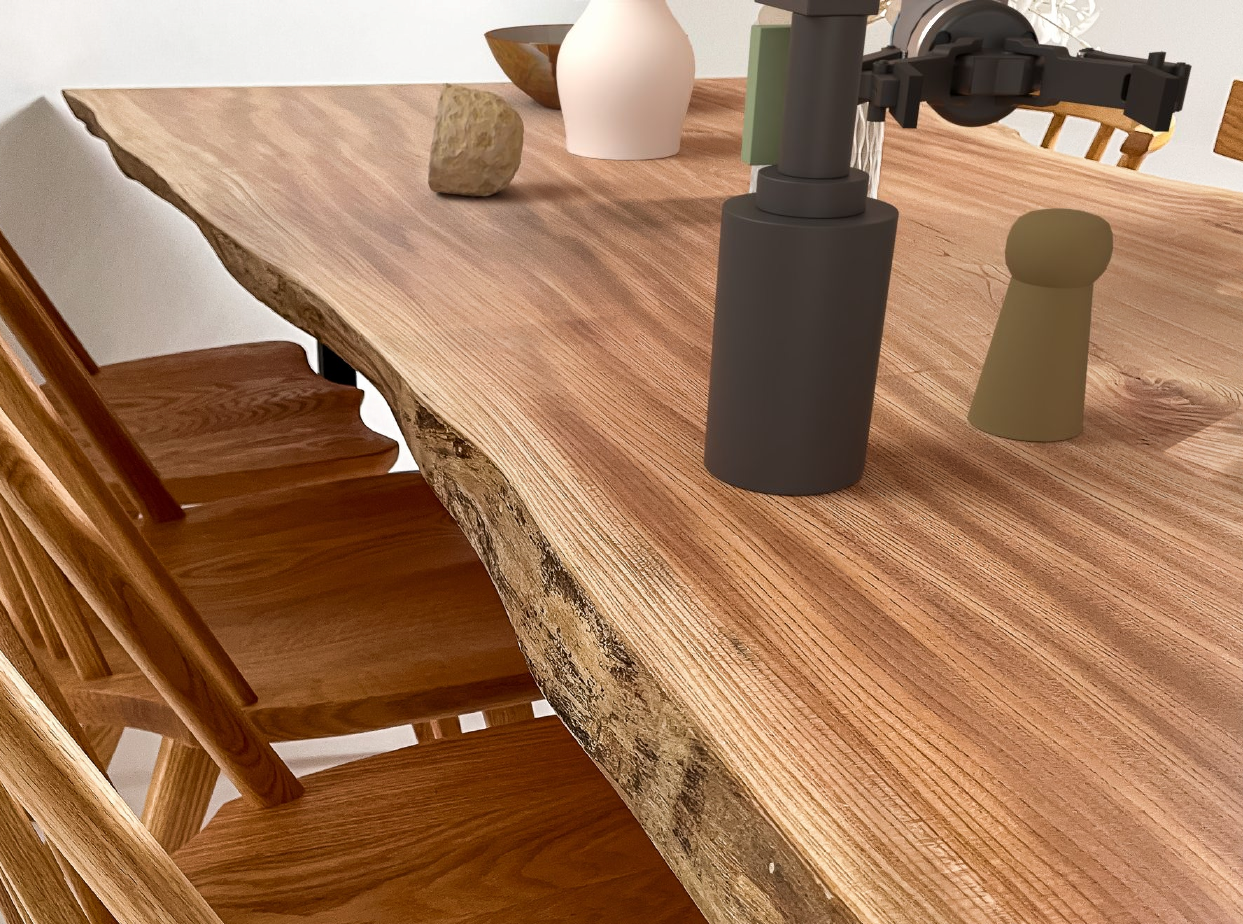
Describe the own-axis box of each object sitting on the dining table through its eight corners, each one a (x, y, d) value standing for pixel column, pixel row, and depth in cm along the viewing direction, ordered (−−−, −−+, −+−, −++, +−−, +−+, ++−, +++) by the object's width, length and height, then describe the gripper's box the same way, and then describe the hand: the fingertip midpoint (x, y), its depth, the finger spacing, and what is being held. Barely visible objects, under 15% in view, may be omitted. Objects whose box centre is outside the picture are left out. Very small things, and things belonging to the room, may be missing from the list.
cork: (1103, 422, 76) (1150, 212, 71) (1048, 449, 73) (1093, 230, 67) (1002, 396, 80) (1040, 194, 74) (945, 421, 76) (980, 211, 71)
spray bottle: (671, 426, 76) (703, -99, 63) (812, 417, 77) (871, -99, 64) (731, 500, 67) (781, -93, 54) (889, 489, 68) (975, -93, 55)
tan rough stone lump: (408, 103, 130) (505, 57, 127) (452, 210, 133) (548, 168, 130) (382, 109, 121) (485, 60, 118) (430, 224, 125) (532, 179, 122)
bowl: (451, 111, 171) (449, 39, 167) (530, 86, 191) (530, 20, 186) (646, 125, 163) (650, 49, 158) (708, 96, 182) (713, 28, 178)
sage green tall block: (740, 160, 69) (750, 24, 66) (794, 159, 69) (807, 24, 66) (749, 165, 68) (760, 27, 64) (804, 164, 68) (818, 26, 65)
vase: (537, 142, 152) (538, -69, 142) (658, 135, 156) (668, -70, 146) (582, 165, 141) (587, -63, 130) (712, 157, 145) (727, -64, 134)
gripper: (1148, 122, 96) (1257, 179, 78) (780, 117, 98) (802, 172, 80) (1174, -1, 92) (1295, 29, 74) (790, -3, 94) (816, 26, 76)
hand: (1039, 103), depth 77 cm, fingers open, 13 cm apart
